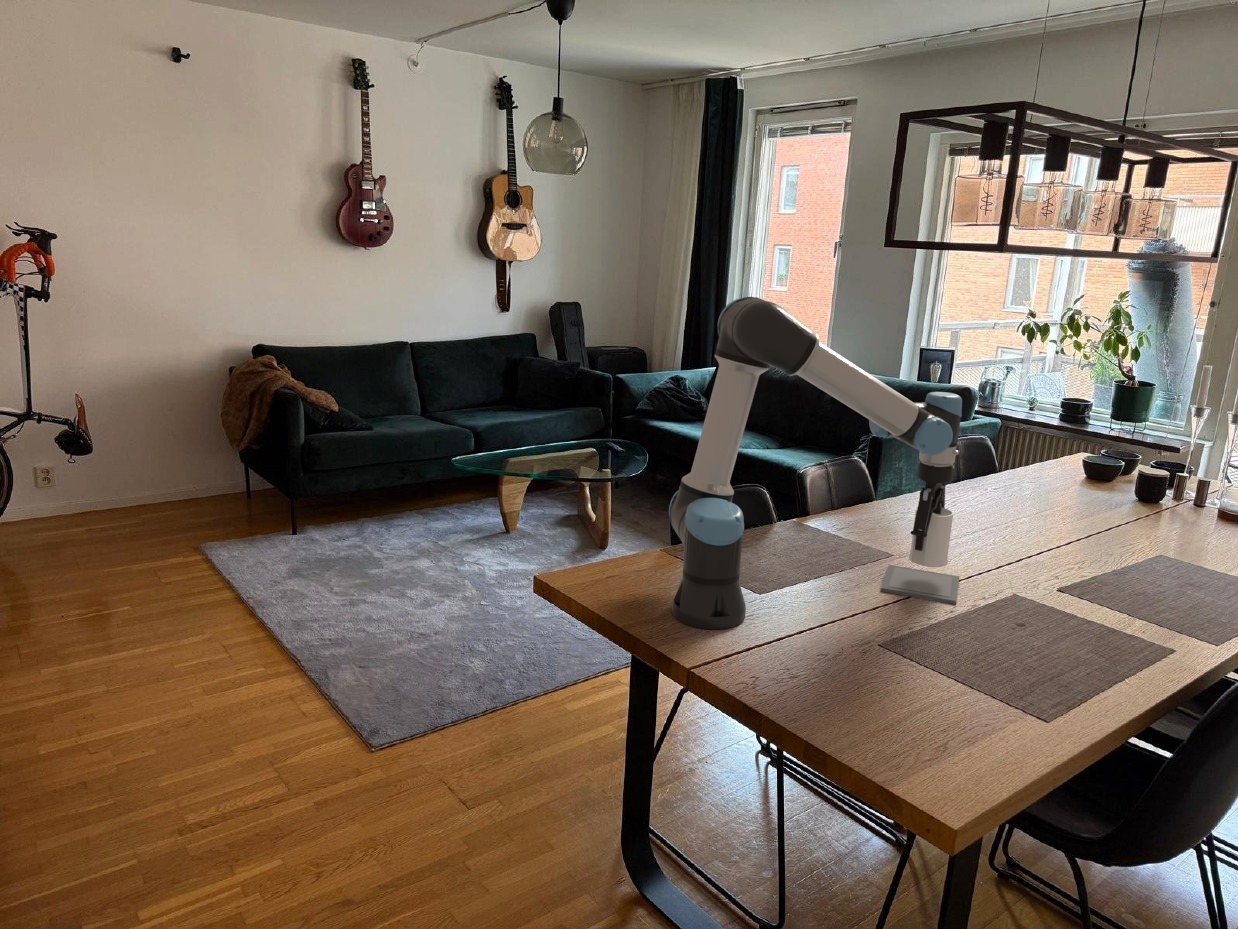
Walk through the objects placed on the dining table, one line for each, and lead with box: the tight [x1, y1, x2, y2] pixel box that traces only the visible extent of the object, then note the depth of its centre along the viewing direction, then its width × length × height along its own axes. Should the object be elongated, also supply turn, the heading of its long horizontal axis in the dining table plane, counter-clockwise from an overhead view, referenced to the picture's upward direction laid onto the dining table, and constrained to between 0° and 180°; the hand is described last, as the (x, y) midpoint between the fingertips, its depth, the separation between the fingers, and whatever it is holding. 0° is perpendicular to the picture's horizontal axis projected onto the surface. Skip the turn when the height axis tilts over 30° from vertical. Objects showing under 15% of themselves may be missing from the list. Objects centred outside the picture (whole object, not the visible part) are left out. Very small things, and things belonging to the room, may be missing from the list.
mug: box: [908, 506, 954, 568], centre depth 200 cm, size 12×8×12 cm
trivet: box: [880, 564, 960, 605], centre depth 203 cm, size 16×16×1 cm
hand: (924, 555), depth 201 cm, fingers closed on mug, 11 cm apart
